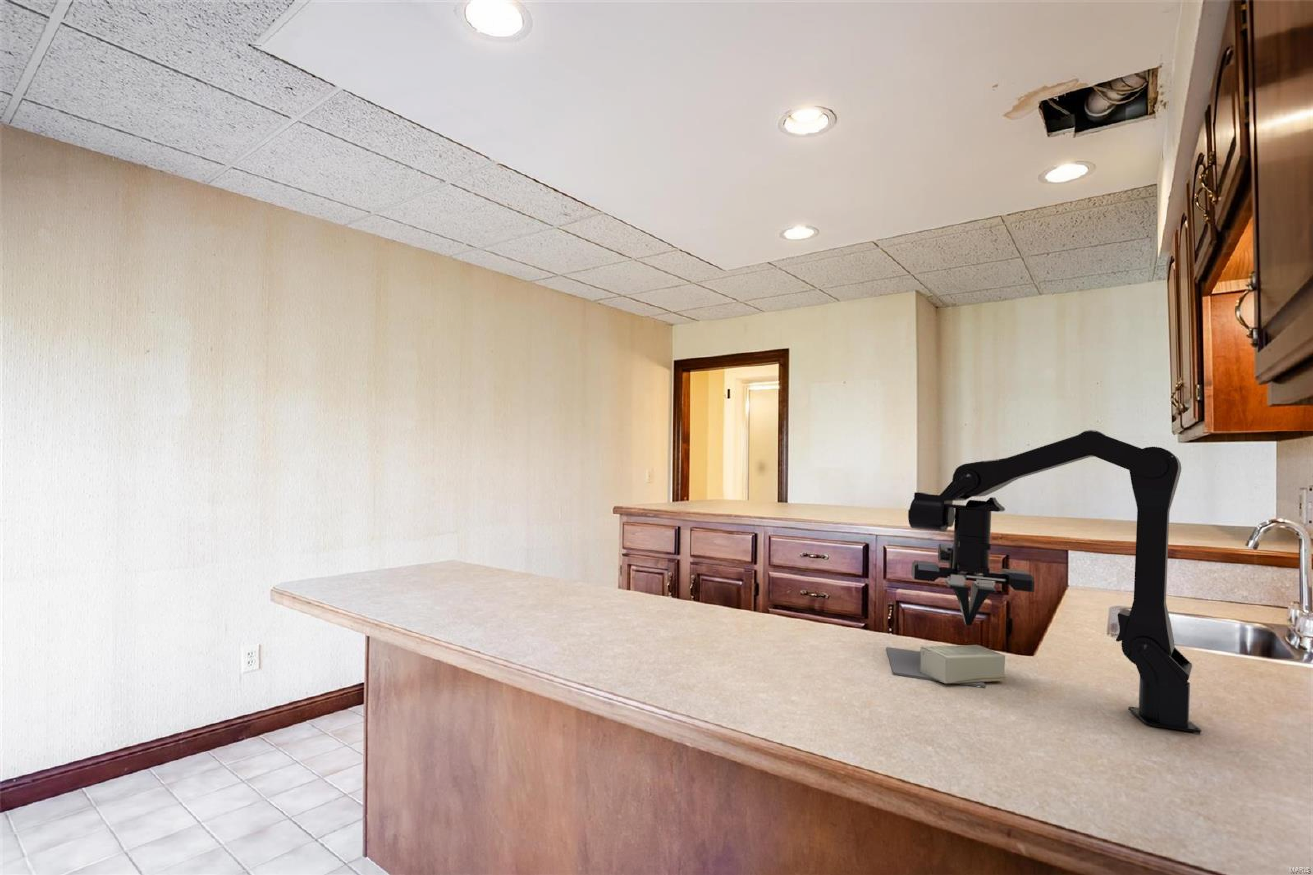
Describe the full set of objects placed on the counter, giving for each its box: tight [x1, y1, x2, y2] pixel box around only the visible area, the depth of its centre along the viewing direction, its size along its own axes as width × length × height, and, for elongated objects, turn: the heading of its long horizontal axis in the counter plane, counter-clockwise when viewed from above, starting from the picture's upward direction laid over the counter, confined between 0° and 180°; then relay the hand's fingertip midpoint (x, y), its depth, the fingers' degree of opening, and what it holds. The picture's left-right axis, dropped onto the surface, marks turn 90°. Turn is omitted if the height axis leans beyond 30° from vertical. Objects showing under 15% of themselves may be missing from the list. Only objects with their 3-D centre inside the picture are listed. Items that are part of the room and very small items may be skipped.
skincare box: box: [920, 644, 1006, 684], centre depth 106 cm, size 6×4×12 cm
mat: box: [885, 646, 987, 688], centre depth 111 cm, size 16×14×1 cm
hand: (967, 625), depth 110 cm, fingers closed
